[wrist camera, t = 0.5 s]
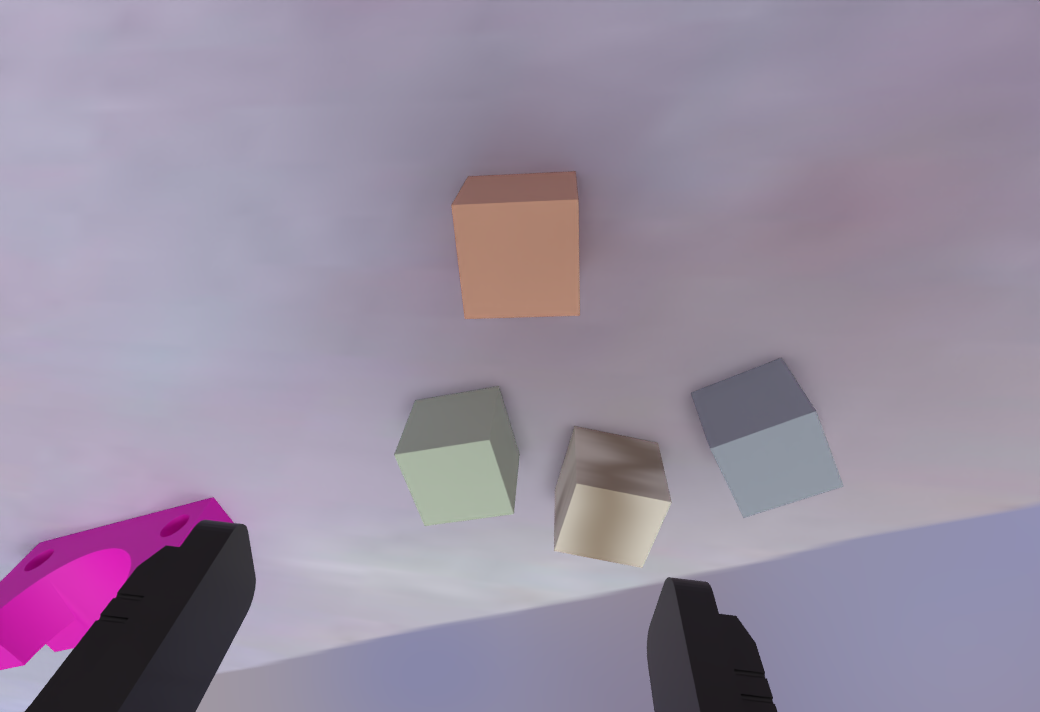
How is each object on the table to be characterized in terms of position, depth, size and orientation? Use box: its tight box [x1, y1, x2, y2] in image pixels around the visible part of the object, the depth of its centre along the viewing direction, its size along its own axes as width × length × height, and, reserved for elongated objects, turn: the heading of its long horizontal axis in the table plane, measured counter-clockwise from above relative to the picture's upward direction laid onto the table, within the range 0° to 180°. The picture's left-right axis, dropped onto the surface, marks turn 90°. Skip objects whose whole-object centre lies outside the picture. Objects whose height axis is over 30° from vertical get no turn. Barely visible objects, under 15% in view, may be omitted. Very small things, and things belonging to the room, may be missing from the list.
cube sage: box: [394, 386, 519, 526], centre depth 33 cm, size 5×5×5 cm
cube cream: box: [554, 426, 672, 568], centre depth 34 cm, size 5×5×5 cm
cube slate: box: [691, 358, 843, 518], centre depth 31 cm, size 5×5×5 cm
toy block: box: [0, 497, 233, 670], centre depth 39 cm, size 15×6×8 cm, turn 110°
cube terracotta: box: [451, 171, 580, 319], centre depth 27 cm, size 5×5×5 cm
